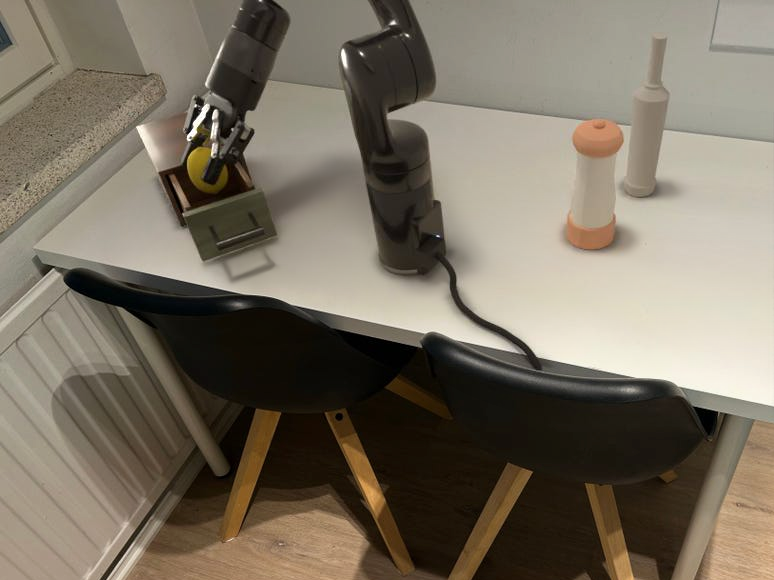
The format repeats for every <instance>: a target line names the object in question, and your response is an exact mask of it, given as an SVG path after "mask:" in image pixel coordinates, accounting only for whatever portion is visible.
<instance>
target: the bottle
mask: <svg viewBox="0 0 774 580" xmlns="http://www.w3.org/2000/svg"><path fill="white" fill-rule="evenodd" d="M667 41H668V34H666V33H663V32H655V33H653V34H652V36H651V44H650V53H649V54H650V55H649V62H648V70H647V76H646V80H644V82H643V84H642V85H640V86H639V87H637V88H636V89H635V90H634V92H633V104H632V114H631V124H630V134H629V143H628V145H629V146H628V155H627V167H626V174H625V176H624V179H623V189H624V191H625V193H626V194H628V195H630V196H632V197H634V198H635V197H636V198H644V197H649V196H650V195H652V194H653V192H654V191H655V188H656V185H657V178H656V176H657V169H658V165H659V159H660V158H659V157H660V152H661V146H662V141H663V136H664V130H665V125H666V120H667V119H666V118H667V113H668V108H669V103H670V102H669V101H670V97H671V96H670V95H671V94H670V91H669V90H668V89H667V88H666V87H665V86H663V85H664V83H663V81H662V75H663V66H664V59H665V52H666V49H667Z"/></svg>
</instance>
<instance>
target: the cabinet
mask: <svg viewBox="0 0 774 580" xmlns="http://www.w3.org/2000/svg"><path fill="white" fill-rule="evenodd" d="M198 113H199V112H198ZM187 115H188V111H186V112H183V113H179V114H176V115H172V116H168V117H165V118H162V119H158V120H155V121H151V122H148V123H144V124H140V125H137V126H136V129H137V130H136V131H137V132H138V135H139V136H140V139H141V141H142V144H143V146H144V148H145V150H146V153H147V155H148V158H149V160H150V163H151V164H152V167H153V170H154V172H155V174H156V176H157V178H158V180H159V183H160V185H161V187H162V189H163V191H164V193H165V195H166V198H167V200H168V202H169V204H170V206H171V208H172V210H173V212H174V214H175V216H176V218H177V221H178V223H179V225H180V226H181V227H182V226H185V225H187V224H186V221H185V219H184V217H183V214H182V213H184V211H183V209H182V207H181V205H180V202H179V200H178V198H177V195H176V193H175V190H174V188H173V186H172V183H171V181H170V178H169V176H168V174H170V173H173V172H176V171H180V170H183V169H186V168H185V167H183V166H182V165H181V163H180V162H181V160H182V157H183V154H184V152H185V150H186V147H187V145H188V142H189V141H188V140H187V137H188V136H187V134H185V133H184V132H183V128H184V125H185V121H186V118H187ZM195 121H196V120H194V121H193V123H194V122H195ZM192 128H194V125H193V124H192ZM202 136H203V134H202ZM223 139H224V138H223ZM226 140H228V138H226ZM201 147H202V146H201ZM204 147H205V148H210V149H212V147H213V142H212V141H211V138H210V140H209V141H208V142H207V143H206V145H205V146H204ZM222 148H223V146H222V145H221V147H220V151H221V150H222ZM235 150H236V148H235V147H234V148H232V152H231V154H233V153H234V151H235ZM239 163H240V164H241V166H242V167H243V169H244V170H245V172H246V174H247V175H248V177H249V178H250V180H251V181H252V182H253V179H252V177H251V174H250V170H249V168H248V164H247V161H246V159H245V154H244V153H243V154H242V155H241V157H240V159H239Z"/></svg>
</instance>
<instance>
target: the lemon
mask: <svg viewBox="0 0 774 580" xmlns="http://www.w3.org/2000/svg"><path fill="white" fill-rule="evenodd" d="M211 153H212V149H210V148H205V147H198V148H197V149H195V150H194V151H193V152H191V154H190V155H189V157H188V160H187V168H188V173H189V177H190V179H191V181H192V182H193V184H194V185H195V186H196V187H197V188H198V189H199V190H201V191H203V192H205V193H213V194H218V192H219V191H221V190H222V189H223V188H224V187H225V185H226V183H227V180H228V172H227V168H226V165H224V167H223V170H222V172H221V174H220V176H219V179H218V181H217V182H216V184H215V185H210V184H207V183H205V182H203V181H202V180H201V176H202V173H203V171H204V169H205V166H206V164H207V162H208V159H209V157H211ZM211 158H212V157H211Z"/></svg>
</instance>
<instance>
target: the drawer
mask: <svg viewBox="0 0 774 580" xmlns="http://www.w3.org/2000/svg"><path fill="white" fill-rule="evenodd" d="M225 165H226V168H227V172H228V180H227V183H226V185H225V187H224V188H223V189H222V190H221V191H219V192H218V194H213V193H205V192H203V191H201V190H199V189H198V188H197V187H196V186H195V185H194V184H193V182H192V181H191V179H190V177H189V173H188V168H186V169H183V170H180V171H176V172H173V173H170V174H168V176H169V178H170V181H171V183H172V186H173V188H174V190H175V193H176V195H177V198H178V200H179V202H180V205H181V207H182V209H183V211H184V213H182V214H183V217H184V219H185V221H186V224H185V225H186V226H187V228H188V231H189V233H190V236H191V238H192V240H193V242H194V245H195V247H196V250H197V252H198V255H199V257H200V259H201V261H202V262H203V263H204V262H207V261H209V260H213V259H216V258H218V257H221V256H224V255H227V254H230V253H233V252H235V251H238V250H240V249H243V248H247V247H249V246H252V245H255V244H258V243H261V242H264V241H266V240H269V239H272V238H275V237H277V236H278V232H277V230H276V226H275V223H274V219H273V216H272V214H271V210H270V208H269V204H268V199H267V198H266V197H267V196H266V195H265V191H264V189H263V188H262V187H261V186H260V187H258V188H256V187H255V185H254V183H253V180H252V179H251V180H252V181H251V180H250V178H249V177H248V175H247V174H246V172H245V170H244V169H243V167H242V166H241V164H240V163H239V161H238V162H237V163H236V164H233V163H226V164H225Z"/></svg>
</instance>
